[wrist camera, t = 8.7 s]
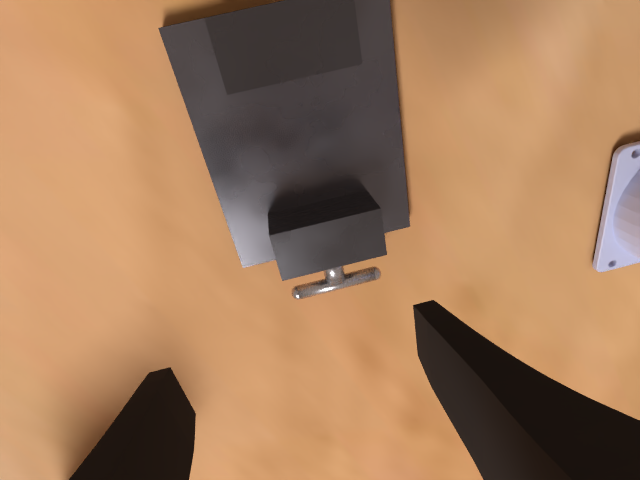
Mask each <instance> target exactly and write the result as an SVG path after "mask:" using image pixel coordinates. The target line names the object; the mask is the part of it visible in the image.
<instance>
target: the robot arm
mask: <svg viewBox="0 0 640 480" xmlns="http://www.w3.org/2000/svg"><path fill="white" fill-rule="evenodd" d="M633 151H634V153H633V154H632V152H633ZM639 262H640V141H638V142H634V143H630V144H626V145H622V146H620V147H619V148H618V149H616V151H615V152H614V154H613V158H612V164H611V169H610V175H609V180H608V185H607V191H606V196H605V201H604V207H603V212H602V217H601V223H600V228H599V234H598V239H597V244H596V250H595V255H594V260H593V268H594V269H595V270H597V271H598V272H604V271H608V270H612V269H616V268H620V267H624V266H628V265H632V264H635V263H639ZM413 309H414V319H415V330H416V340H417V351H418V357H419V359H420V361H421V364H422V366H423V369H424V371H425V373H426V375H427V378H428V380H429V382H430V385H431V387H432V389H433V390H434V392H435V394H436V396H437V398H438V399H439V401H440V403H441V405H442V406H443V408H444V410H445V412H446V413H447V415H448V417H449V419H450V420H451V422H452V424H453V426H454V427H455V429H456V431H457V432H458V434H459V436H460V438H461V439H462V441H463V443H464V445H465V446H466V448H467V450H468V452H469V453H470V455H471V457H472V459H473V460H474V462H475V464H476V466H477V468H478V470H479V472H480V474H481V476H482V477H483V480H640V420H637V419H635V418H632V417H630V416H628V415H626V414H623V413H621V412H619V411H617V410H615V409H612V408H610V407H608V406H606V405H603V404H601V403H599V402H597V401H595V400H592V399H590V398H588V397H586V396H584V395H582V394H580V393H578V392H576V391H574V390H572V389H570V388H568V387H566V386H564V385H562V384H561V383H559V382H557V381H555V380H553V379H551V378H549V377H547V376H546V375H544V374H542V373H540V372H539V371H537V370H535V369H533V368H532V367H530V366H528V365H527V364H525V363H523V362H522V361H520V360H518V359H517V358H515V357H514V356H512V355H510V354H509V353H507V352H506V351H504V350H503V349H501V348H500V347H498V346H497V345H495V344H494V343H492V342H491V341H489V340H488V339H486V338H485V337H483V336H482V335H480V334H479V333H478V332H476V331H475V330H473V329H472V328H470V327H469V326H468V325H466V324H465V323H464V322H462V321H461V320H460V319H458V318H457V317H456V316H454V315H453V314H452V313H450V312H449V311H448V310H446V309H445V308H444V307H442V306H441V305H440V304H438V303H437V302H435V301H434V300H432V301H428V302H424V303H420V304H416V305H413ZM195 417H196V413H195V411H194V410H193V408H192V406H191V404H190V402H189V400H188V399H187V397H186V395H185V393H184V391H183V390H182V388H181V386H180V384H179V382H178V380H177V379H176V377H175V375H174V373H173V371H172V370H171V368H166V369H162V370H158V371H154V372H150V373H149V374H148V375H147V376H146V378H145V379H144V380H143V382H142V383H141V384H140V386H139V387H138V389H137V390H136V391H135V393H134V394H133V395H132V397H131V398H130V400H129V401H128V402H127V404H126V405H125V407H124V408H123V409H122V411H121V412H120V414H119V415H118V416H117V418H116V419H115V420H114V422H113V423H112V425H111V426H110V427H109V429H108V430H107V431H106V433H105V434H104V435H103V437H102V438H101V439H100V441H99V442H98V444H97V445H96V446H95V447H94V449H93V450H92V451H91V453H90V454H89V455H88V456H87V458H86V459H85V460H84V461H83V463H82V464H81V465H80V466H79V468H78V469H77V470H76V472H75V473H74V474H73V475H72V477H71V478H70V479H69V480H189V476H190V470H191V465H192V458H193V452H194V440H195Z"/></svg>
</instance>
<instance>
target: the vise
mask: <svg viewBox="0 0 640 480" xmlns="http://www.w3.org/2000/svg"><path fill="white" fill-rule="evenodd" d="M159 31H160V34H161V37H162V40H163V43H164V45H165V48H166V51H167V54H168V57H169V60H170V62H171V65H172V68H173V71H174V74H175V77H176V79H177V82H178V85H179V88H180V91H181V94H182V96H183V99H184V102H185V105H186V108H187V111H188V114H189V116H190V119H191V122H192V125H193V128H194V131H195V133H196V136H197V139H198V142H199V145H200V148H201V150H202V153H203V156H204V159H205V162H206V165H207V167H208V170H209V173H210V176H211V179H212V182H213V184H214V187H215V190H216V193H217V196H218V199H219V201H220V204H221V207H222V210H223V213H224V216H225V218H226V221H227V224H228V227H229V230H230V233H231V235H232V238H233V241H234V244H235V247H236V250H237V252H238V255H239V258H240V261H241V264H242V267H243V268H245V267H249V266H253V265H257V264H261V263H265V262H269V261H273V260H276V261H277V265H278V268H279V271H280V275H281V278H282V281H284V280H288V279H292V278H296V277H300V276H304V275H308V274H312V273H316V272H320V271H324V274H325V279H322V280H318V281H314V282H310V283H306V284H302V285H298V286H295V287H294V288H293V289H292V296H293V297H294V298H295V299H303V298H307V297H311V296H315V295H319V294H323V293H327V292H330V291H334V290H338V289H342V288H346V287H350V286H354V285H358V284H362V283H366V282H370V281H374V280H377V279H379V278H380V276H381V271H380V269H379V268H377V267H370V268H366V269H362V270H358V271H354V272H350V273H346V274H345V273H344V268H343V266H344V265H348V264H352V263H356V262H360V261H364V260H368V259H372V258H376V257H380V256H384V255H387V251H386V244H385V236H384V233H386V232H390V231H394V230H398V229H402V228H406V227H410V221H409V210H408V198H407V187H406V176H405V165H404V154H403V142H402V131H401V120H400V109H399V98H398V86H397V75H396V64H395V53H394V41H393V30H392V19H391V8H390V0H284V1H280V2H275V3H270V4H266V5H261V6H257V7H252V8H248V9H243V10H239V11H234V12H229V13H225V14H220V15H216V16H211V17H207V18H202V19H198V20H193V21H188V22H184V23H179V24H175V25H170V26H166V27H161V28H159Z"/></svg>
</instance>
